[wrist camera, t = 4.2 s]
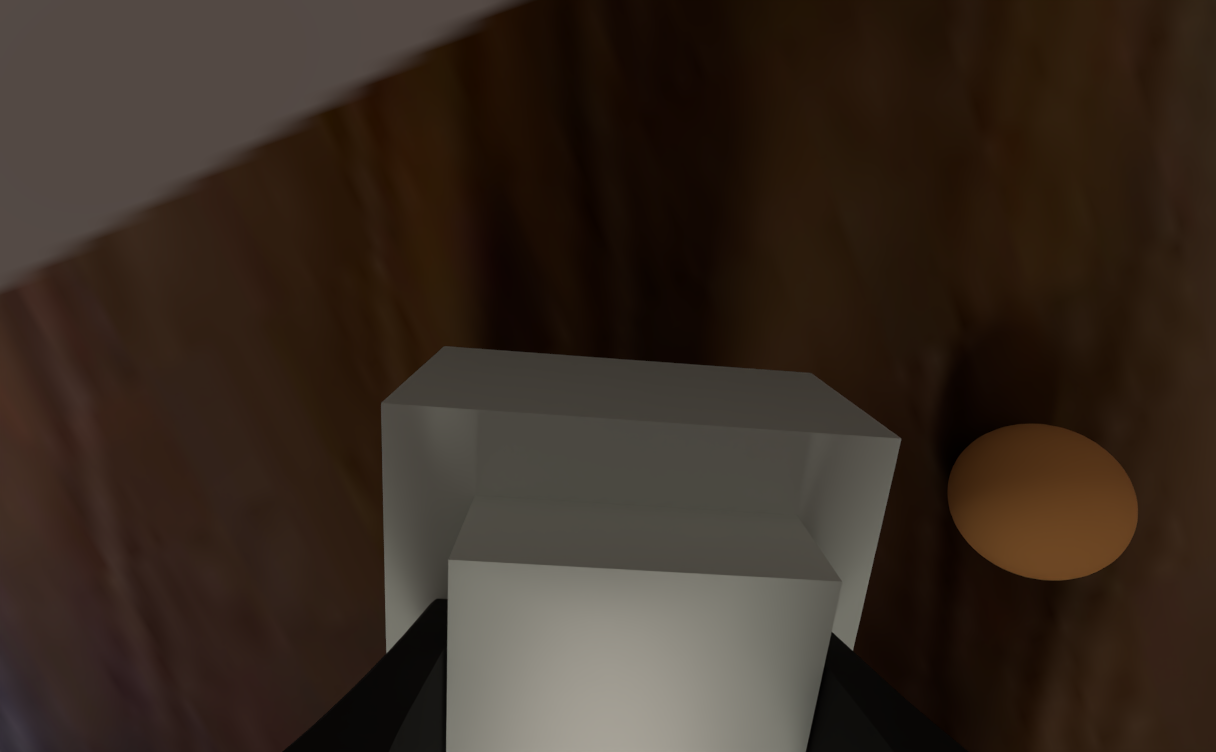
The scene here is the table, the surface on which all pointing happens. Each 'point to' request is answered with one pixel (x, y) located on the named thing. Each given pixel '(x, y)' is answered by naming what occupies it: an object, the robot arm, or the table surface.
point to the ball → (1042, 502)
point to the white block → (629, 546)
